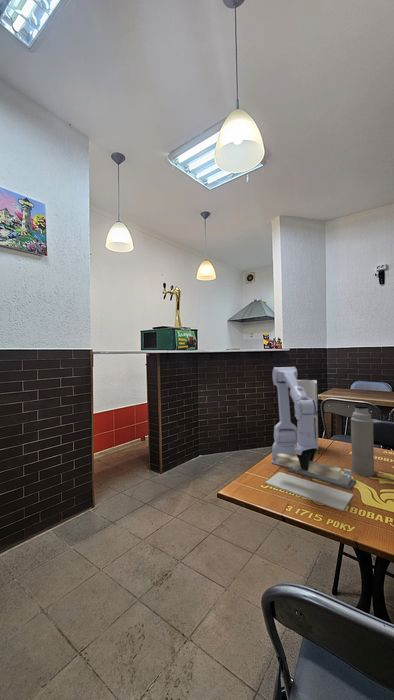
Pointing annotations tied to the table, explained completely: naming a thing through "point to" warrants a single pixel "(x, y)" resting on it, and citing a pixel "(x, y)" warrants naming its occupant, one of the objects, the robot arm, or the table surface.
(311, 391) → the display case
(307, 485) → the mat
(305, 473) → the rack
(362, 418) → the thermos bottle
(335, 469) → the rail
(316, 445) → the robot arm
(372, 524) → the table surface
